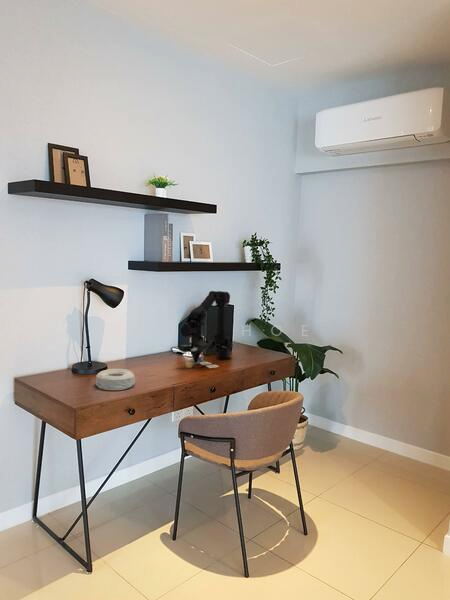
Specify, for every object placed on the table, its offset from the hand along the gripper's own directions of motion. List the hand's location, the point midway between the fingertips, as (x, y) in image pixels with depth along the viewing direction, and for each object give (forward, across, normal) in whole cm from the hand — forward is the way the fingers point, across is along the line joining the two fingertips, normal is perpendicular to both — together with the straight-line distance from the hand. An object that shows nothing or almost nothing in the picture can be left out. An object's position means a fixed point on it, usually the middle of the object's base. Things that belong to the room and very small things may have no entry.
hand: (195, 362), depth 259 cm
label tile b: (+3, +8, -4) cm, 10 cm away
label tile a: (+3, +8, +4) cm, 10 cm away
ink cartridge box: (+3, +18, +26) cm, 31 cm away
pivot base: (+3, +8, +8) cm, 12 cm away
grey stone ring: (+2, -51, -12) cm, 52 cm away
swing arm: (+2, +2, +4) cm, 5 cm away
